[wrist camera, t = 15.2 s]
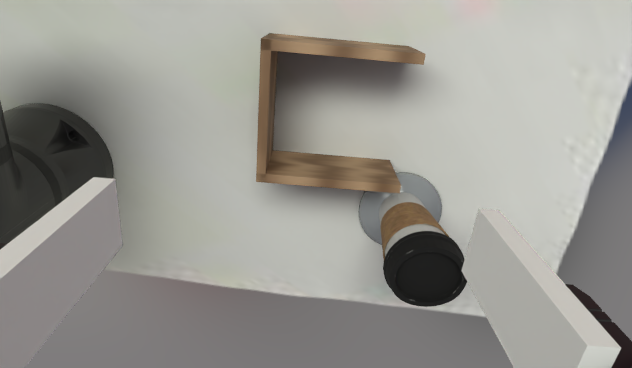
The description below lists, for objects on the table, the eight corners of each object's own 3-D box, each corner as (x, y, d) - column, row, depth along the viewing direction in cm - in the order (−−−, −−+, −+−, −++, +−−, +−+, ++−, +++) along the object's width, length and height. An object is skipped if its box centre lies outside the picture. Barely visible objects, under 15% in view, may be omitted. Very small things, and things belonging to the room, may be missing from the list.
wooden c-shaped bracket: (264, 157, 53) (256, 181, 46) (269, 33, 47) (261, 38, 40) (388, 167, 54) (399, 193, 46) (408, 46, 48) (425, 54, 40)
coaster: (354, 241, 58) (354, 244, 58) (364, 169, 54) (365, 170, 53) (431, 247, 58) (432, 250, 58) (448, 176, 54) (449, 177, 54)
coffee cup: (431, 236, 57) (468, 310, 43) (370, 241, 57) (387, 315, 44) (433, 180, 54) (474, 241, 40) (368, 185, 54) (386, 247, 40)
